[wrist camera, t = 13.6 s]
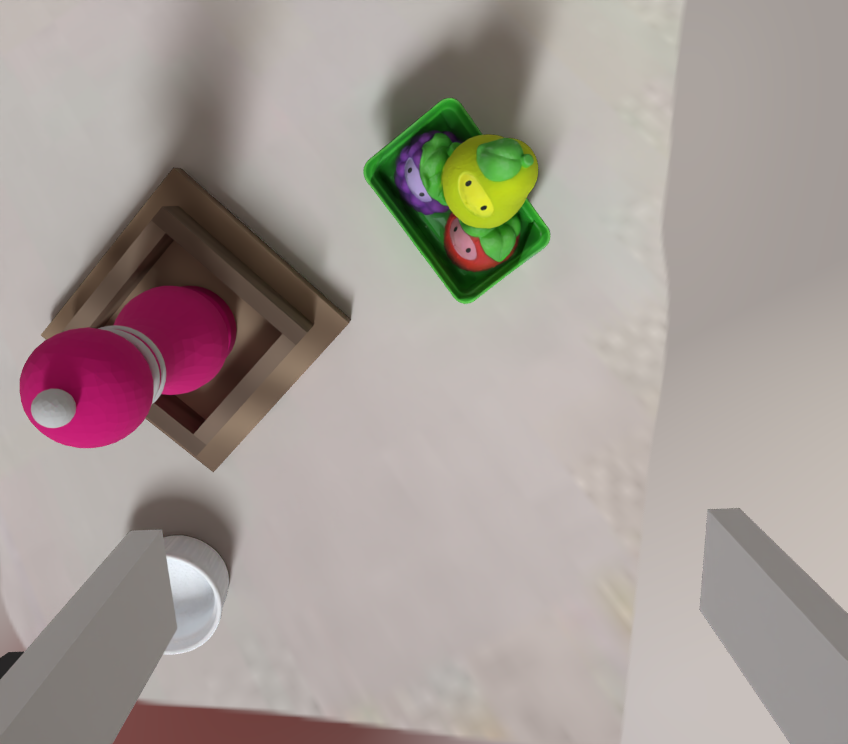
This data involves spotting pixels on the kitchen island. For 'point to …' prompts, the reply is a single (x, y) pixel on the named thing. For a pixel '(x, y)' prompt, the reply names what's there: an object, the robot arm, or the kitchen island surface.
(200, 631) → the ramekin
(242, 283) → the walnut stand
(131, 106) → the kitchen island surface
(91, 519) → the kitchen island surface
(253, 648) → the kitchen island surface
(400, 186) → the fruit basket
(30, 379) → the pepper mill
